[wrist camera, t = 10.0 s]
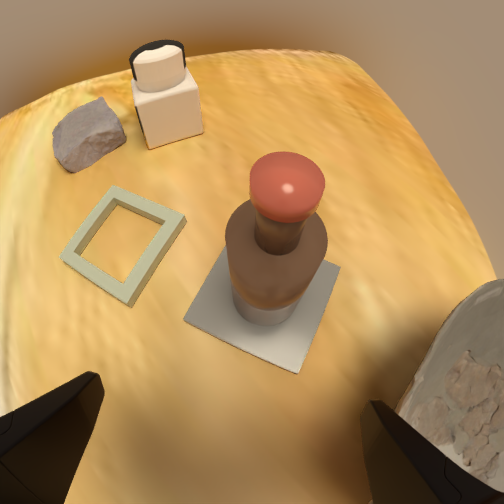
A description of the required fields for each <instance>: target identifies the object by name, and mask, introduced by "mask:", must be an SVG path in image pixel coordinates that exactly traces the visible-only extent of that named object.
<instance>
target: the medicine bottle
mask: <svg viewBox="0 0 504 504" xmlns="http://www.w3.org/2000/svg"><path fill="white" fill-rule="evenodd" d="M129 61H130V65H131V69H132V73H133V77H134V79H132V80H131V85H132V92H133V98H134V105H135V109H136V112H137V115H138V119H139V122H140V125H141V129H142V132H143V135H144V138H145V141H146V145H147V147H148V149H153V148H156V147H159V146H162V145H165V144H168V143H171V142H175V141H178V140H181V139H185V138H188V137H191V136H195V135H199V134H202V133H203V123H202V115H201V107H200V98H199V89H198V86H197V84H196V82H195V81H194V79H193V77H192V75H191V74H190V72H189V70H188V69H187V67H186V61H185V53H184V46H183V44H181V43H180V42H178V41H174V40H159V41H154V42H151V43H148V44H145V45H143V46H141V47H140V48H138V49H137V50H135V51H134V52H133V53H132V54H131V56H130V58H129Z"/></svg>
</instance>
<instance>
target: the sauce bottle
mask: <svg viewBox="0 0 504 504" xmlns="http://www.w3.org/2000/svg"><path fill="white" fill-rule="evenodd" d="M324 188H325V179H324V175H323V173H322V171H321V170H320V168H319V167H318V166H317V165H316V164H315V163H314V162H313V161H311V160H310V159H308V158H306V157H305V156H302V155H300V154H296V153H292V152H274V153H270V154H267V155H265V156H263V157H261V158H260V159H259V160H257V161H256V162H255V164H254V165H253V167H252V169H251V171H250V191H249V194H250V200H248V201H246V202H244V203H243V204H242V205H240V206H239V207H238V208H237V209H236V210H235V211H234V213H233V214H232V215H231V217H230V219H229V221H228V224H227V227H226V233H225V240H226V249H227V257H228V266H229V274H230V282H231V289H232V297H233V302H234V305H235V308H236V310H237V311H238V313H239V314H240V315H241V316H242V317H243V318H244V319H245V320H247V321H248V322H250V323H252V324H255V325H258V326H273V325H277V324H280V323H282V322H283V321H285V320H286V319H288V318H289V317H290V316H291V315H292V313H293V312H294V310H295V309H296V307H297V305H298V303H299V302H300V300H301V298H302V296H303V295H304V293H305V291H306V289H307V288H308V286H309V284H310V282H311V281H312V279H313V277H314V275H315V273H316V272H317V270H318V268H319V266H320V264H321V262H322V261H323V259H324V257H325V254H326V251H327V244H328V239H327V232H326V229H325V226H324V224H323V222H322V220H321V218H320V217H319V216H318V214H317V213H316V212H315V211H316V210H317V208H318V206H319V203H320V200H321V197H322V194H323V191H324Z"/></svg>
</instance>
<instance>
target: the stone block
mask: <svg viewBox="0 0 504 504" xmlns="http://www.w3.org/2000/svg"><path fill="white" fill-rule="evenodd" d="M52 134H53V137H54V138H53V150H54V156H55V158H57V160H58V161H59V162H60V164H61V165H62V166H63V167H64V168H65V169H66V170H68V171H70V172H73V173H77V172H79V171H81V170H83V169H85V168H87V167H89V166H91V165H92V164H93V163H95V162H96V161H97V160H99V159H100V158H102V157H103V156H104V155H106V154H107V153H110V152H111V151H113V150H114V149H115V148H116V147H118V146H120V145H122V144H124V143H125V142H126V136H125V134H124V131H123V128H122V125H121V123H120V121H119V119H118V118H117V116H116V114H115V113H114V112H113V110H112V109H111V108H109V107H108V105H107V104H106V102H105V100H104V98H103V97H99V99H97V100H95V101H92V102H89V103H87V104H85V105H82V106H80V107H78V108H77V109H75V110H73V111H72V112H70V113H68V114H67V115H66V116H65V117H64V118H63V120H61V121H60V122H59V123H58V125H57V126H56V127H55V129H54V131H53V132H52Z"/></svg>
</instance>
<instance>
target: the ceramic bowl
mask: <svg viewBox="0 0 504 504" xmlns="http://www.w3.org/2000/svg"><path fill="white" fill-rule="evenodd" d="M395 412H396V413H397V414H398V415H399V416H400V417H402V418H403V419H404V420H405V421H406V422H407V423H409V424H410V425H411V426H412V427H413V428H414V429H415V430H417V431H418V432H419V433H420V434H421V435H422V436H424V437H425V438H426V439H427V440H428V441H430V442H431V443H432V444H433V445H434V446H435V447H437V448H438V449H439V450H440V451H441V452H443V453H444V454H445V455H446V456H447V457H449V458H450V459H451V460H452V461H453V462H455V463H456V464H457V465H459V466H460V467H461V468H462V469H464V470H465V471H467V472H468V473H470V474H471V475H473V476H474V477H476V478H477V479H479V480H480V481H482V482H484V483H485V484H487V485H489V486H490V487H492V488H494V489H495V490H498V491H500V492H504V279H498V280H494V281H491V282H487V283H485V284H484V285H482V286H480V287H479V288H477V289H476V290H475V291H474V292H472V293H471V294H470V295H469V296H468V297H466V298H465V299H464V300H463V301H461V302H460V303H459V304H458V305H457V306H456V307H455V308H454V309H453V310H452V312H451V313H450V314H449V316H448V317H447V319H446V320H445V321H444V323H443V324H442V326H441V328H440V329H439V331H438V333H437V334H436V336H435V338H434V340H433V342H432V344H431V346H430V348H429V350H428V352H427V353H426V355H425V357H424V359H423V361H422V362H421V364H420V366H419V367H418V369H417V371H416V373H415V375H414V377H413V379H412V380H411V382H410V383H409V386H408V387H407V389H406V391H405V392H404V394H403V396H402V397H401V399H400V400H399V402H398V404H397V407H396V409H395ZM369 504H373V501H372V500H370V501H369Z"/></svg>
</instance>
